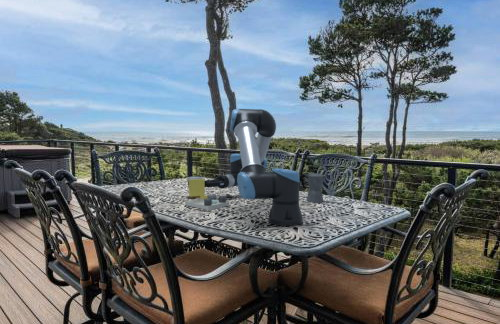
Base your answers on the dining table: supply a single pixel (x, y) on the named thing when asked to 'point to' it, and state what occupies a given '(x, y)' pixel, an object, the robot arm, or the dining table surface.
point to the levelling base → (200, 201)
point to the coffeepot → (314, 186)
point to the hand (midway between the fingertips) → (193, 186)
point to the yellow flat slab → (199, 189)
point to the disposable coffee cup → (188, 184)
